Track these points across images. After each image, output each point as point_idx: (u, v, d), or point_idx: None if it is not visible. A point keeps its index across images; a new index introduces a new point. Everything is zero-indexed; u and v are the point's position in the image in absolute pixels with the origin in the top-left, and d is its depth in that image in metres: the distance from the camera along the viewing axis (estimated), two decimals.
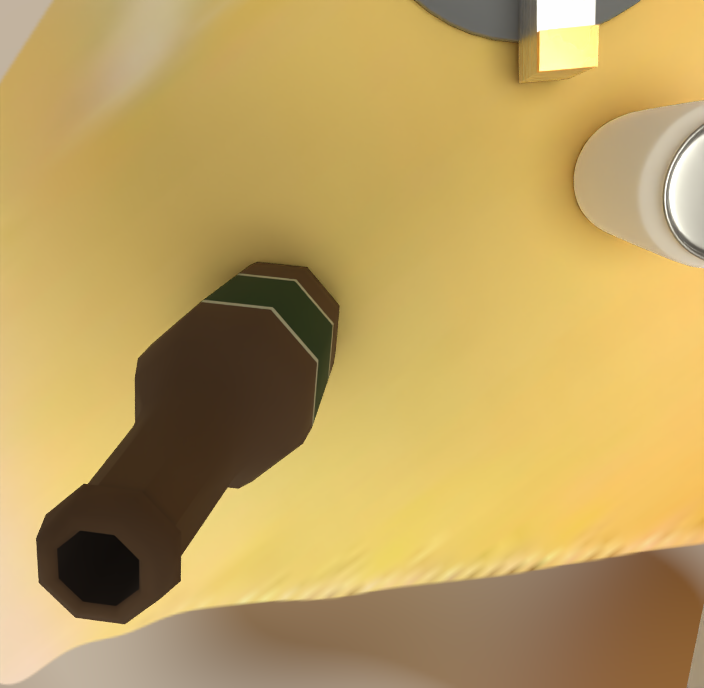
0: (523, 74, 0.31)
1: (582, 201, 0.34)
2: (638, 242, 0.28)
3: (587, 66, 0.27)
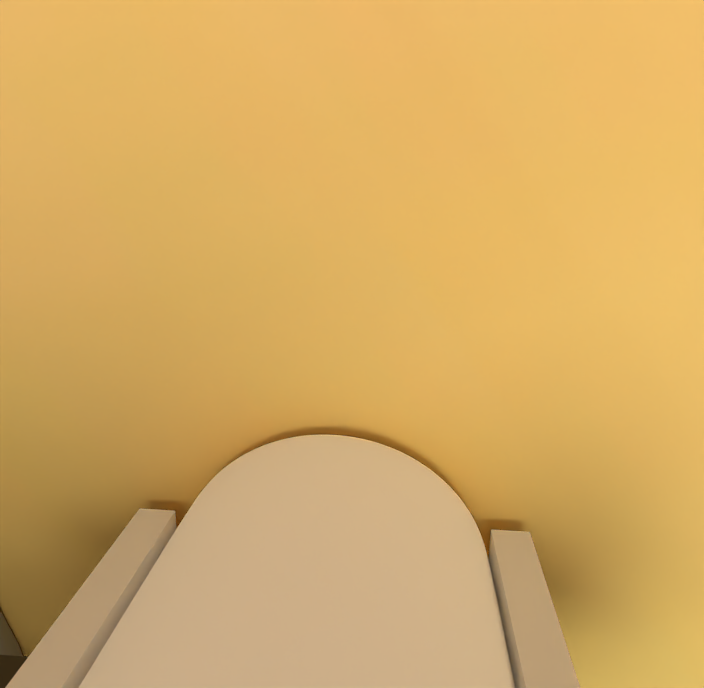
0: None
1: None
2: None
3: None
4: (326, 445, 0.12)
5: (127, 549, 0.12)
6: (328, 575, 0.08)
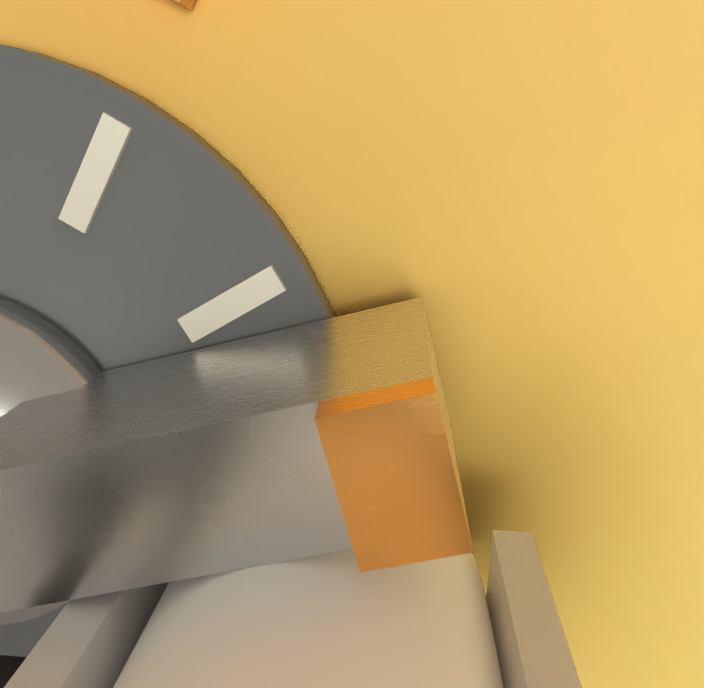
0: None
1: None
2: None
3: (439, 420, 0.08)
4: None
5: None
6: (297, 620, 0.09)
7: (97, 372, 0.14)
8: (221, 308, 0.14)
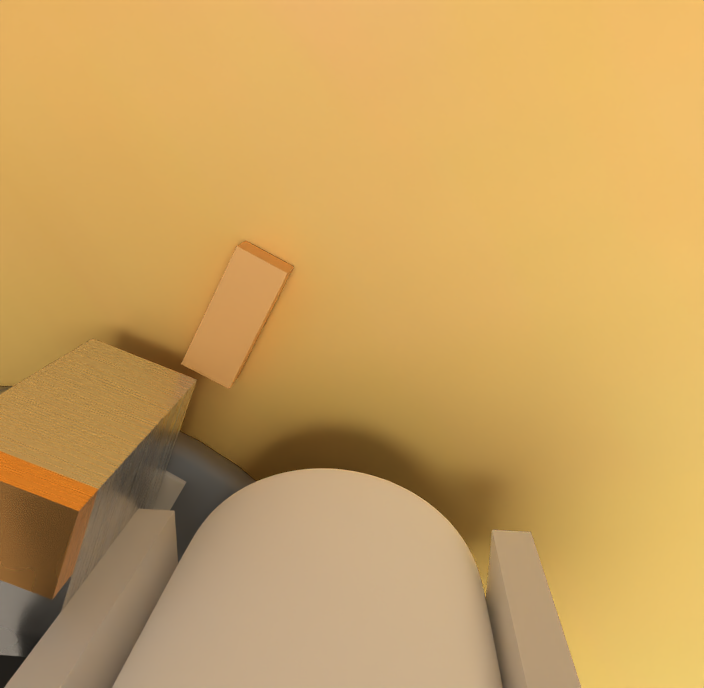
0: (171, 415, 0.13)
1: None
2: None
3: None
4: (301, 481, 0.12)
5: (126, 549, 0.12)
6: (296, 620, 0.09)
7: None
8: None
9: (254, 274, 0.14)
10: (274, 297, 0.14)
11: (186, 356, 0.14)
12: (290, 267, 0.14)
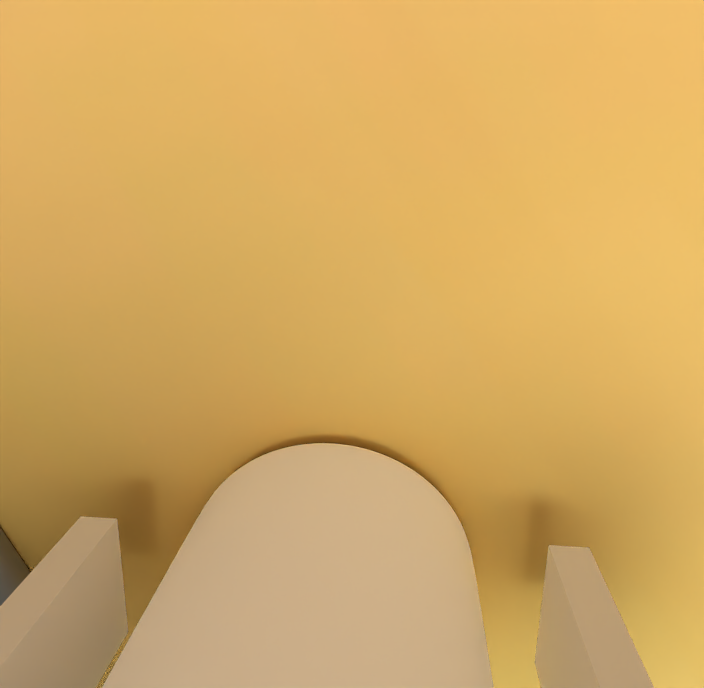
0: None
1: None
2: None
3: None
4: (303, 454, 0.13)
5: (61, 558, 0.12)
6: (297, 568, 0.10)
7: None
8: None
9: None
10: None
11: None
12: None
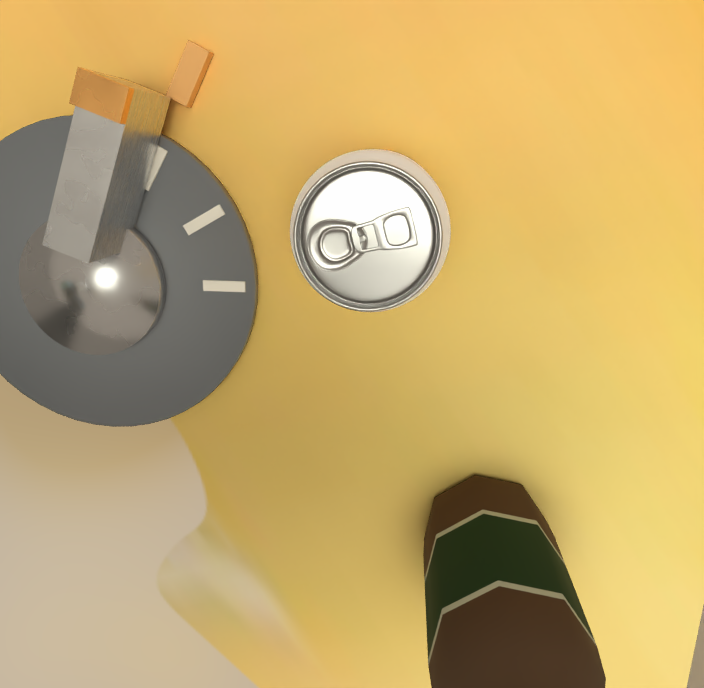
0: (160, 100, 0.32)
1: None
2: None
3: (86, 71, 0.28)
4: None
5: None
6: None
7: None
8: (200, 221, 0.35)
9: (195, 52, 0.33)
10: (204, 62, 0.33)
11: (167, 91, 0.34)
12: None
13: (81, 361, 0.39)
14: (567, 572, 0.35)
